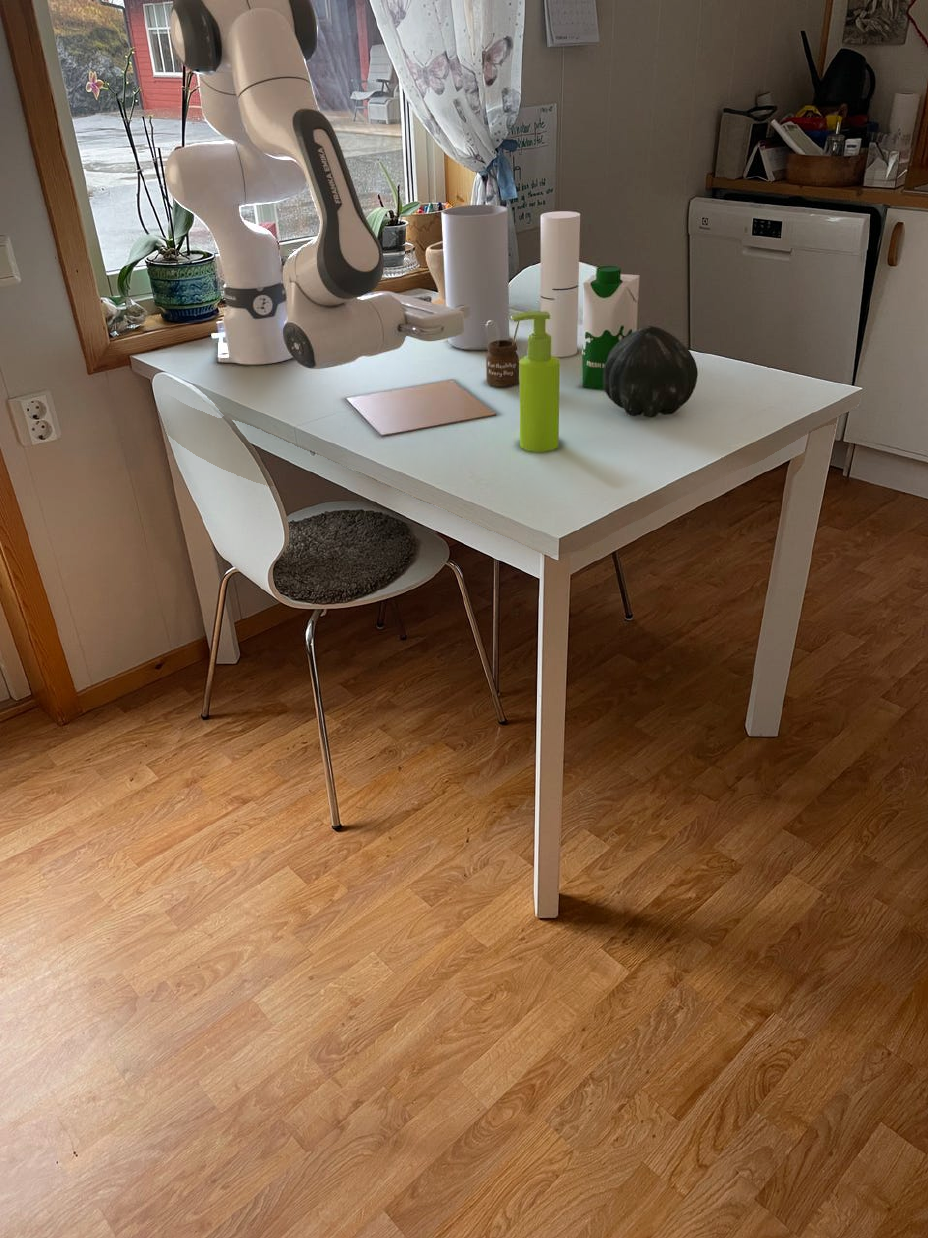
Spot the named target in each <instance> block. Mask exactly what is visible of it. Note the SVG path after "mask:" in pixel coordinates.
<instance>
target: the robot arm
mask: <svg viewBox="0 0 928 1238" xmlns="http://www.w3.org/2000/svg"><path fill="white" fill-rule="evenodd" d="M311 1H312V0H174V2H173V5H172V6H171V10H170V11H171V13H170V23H169V30H170V31H169V32H170V38H171V42H172V46H173V48H174V50H175V52H176V54H177V57H179V60H180V62H181V64H182V65H183V67H185V68H186V69H187V70H189V72H191V73H195V74H198V79H199V91H200V104H201V105H200V106H201V112H202V115H203V118H204V119H205V121H206V122H207V124H208V125H209V126H210V128H212V129H213V130H214V131H215V132H216V133H218V134H219V135H220V136H222V137H224V138H226V139H227V140H222V141H211V142H210V141H209V142H200V143H198V142H197V143H193V144H189V145H186V146H183V147H181V148H177V149H174V150H172V151H171V153H169V155H168V157H167V160H166V162H165V166H164V180H165V184H166V187H167V190H168V192H169V194H170V195H171V197H172V198H173V200H175V202H176V203H177V204H178V205H179V206H181V207H182V208H184V209H185V210H187V211H189V212H190V213H192V214H193V215H194V216H195V217H196V218H197V219H199V220H200V222H202V223H203V225H204V226H205V227H206V228H207V230H208V231H209V233H210V235H211V236H212V239H213V241H214V243H215V246H216V249H217V251H218V255H219V261H220V264H221V270H222V274H223V281H224V285H223V297H224V302H225V304H226V308H225V311H224V313H223V317H222V318H221V319H222V320H221V321H216V326H217V333H211V338H212V339H218V349H217V362H219V363H234V364H239V365H249V366H250V365H252V366H253V365H254V366H255V365H266V364H268V365H269V364H275V363H279V362H280V363H281V362H284V361H288V360H290V359H293V360H294V361H295V362H296V363H297V364H299V365H300V366H302V367H304V368H306V369H310V370H323V369H324V370H325V369H330V368H334V367H335V368H336V367H339V366H343V365H347V364H349V363H353V362H355V361H357V360H358V359H359V358H361V357H374V356H378V355H381V354H385V353H388V352H391V351H395V350H398V349H399V348H401V347H402V346H403V345H404V343H405V340H406V338H407V337H409V338H412V339H416V340H419V341H422V342H437V341H441V340H446V339H447V340H448V338H451V337H456V336H459V335H461V334H462V333H463V332H464V318H467V317H469V315H470V312H469V306H466V305H458V306H455V309H454V308H450V307H446V306H442V305H438V304H435V303H432V300H433V298H432V296H430V295H426V294H422V295H416V296H414V295H412V296H409V295H404V294H400V293H396V292H393V291H390V290H389V291H388V290H379V291H375V289H376V288H377V287H378V285H379V284H380V283H381V280H382V278H383V276H384V275H383V274H384V271H385V257H384V252H383V249H382V246H381V243H380V241H379V239H378V237H377V235H376V233H375V232H374V230H373V228H372V227H371V225H370V223H369V222H368V219H367V217H366V215H365V212H364V211H363V207H362V205H361V202H360V199H359V196H358V194H357V191H356V188H355V184H354V182H353V179H352V175H351V172H350V170H349V167H348V164H347V161H346V157H345V155H344V152H343V150H342V147H341V144H340V141H339V139H338V137H337V134H336V131H335V130H334V128H333V126H332V124H331V122H330V120H329V119H328V118H327V117H326V116H325V115H324V114H323V113H322V111H321V110H320V108H319V105H318V102H317V99H316V96H315V91H314V88H313V83H312V81H311V76H310V73H309V70H308V67H307V62H309V61H310V60H311V59H312V58H313V56H314V55H315V53H316V51H317V47H318V36H319V26H318V20H317V16H316V13H315V9H314V6H313V4H312V2H311ZM306 184H307V186H308V189H309V192H310V195H311V198H312V201H313V204H314V207H315V210H316V212H317V215H318V218H319V219H318V220H319V230H318V234H317V236H316V238H313V239H312V240H311V241H309V242H307V243H305V244H303V245H302V246H301V247H299V248H298V249H297V250H295V251H294V252H292V253H291V254H289V256H287V258H286V260H285V261H284V263H283V265H282V266H281V257H280V251H279V244H278V241H277V239H276V238H275V236H274V235H273V233H271V232H270V231H269V230H268V229H266V228H264V227H262V226H259V225H257V224H254V223H251V222H249V221H247V220H244V218H243V216H242V214H241V208H242V207H245V206H255V205H256V206H257V205H265V204H273V203H274V204H275V203H279V202H283V201H286V200H289V199H293V198H294V197H297V196H300V195H301V194H302V192H303V190H304V189H305V186H306ZM370 292H371V293H370Z"/></svg>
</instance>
